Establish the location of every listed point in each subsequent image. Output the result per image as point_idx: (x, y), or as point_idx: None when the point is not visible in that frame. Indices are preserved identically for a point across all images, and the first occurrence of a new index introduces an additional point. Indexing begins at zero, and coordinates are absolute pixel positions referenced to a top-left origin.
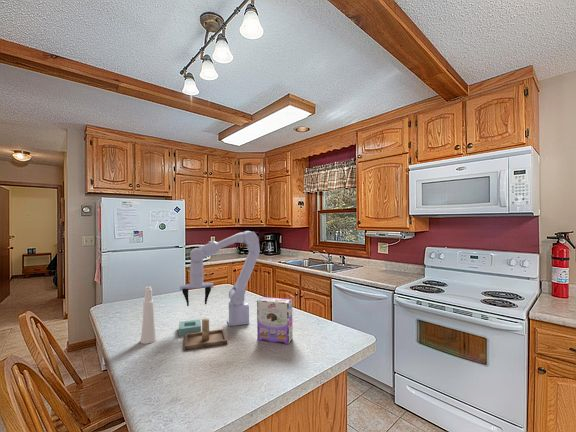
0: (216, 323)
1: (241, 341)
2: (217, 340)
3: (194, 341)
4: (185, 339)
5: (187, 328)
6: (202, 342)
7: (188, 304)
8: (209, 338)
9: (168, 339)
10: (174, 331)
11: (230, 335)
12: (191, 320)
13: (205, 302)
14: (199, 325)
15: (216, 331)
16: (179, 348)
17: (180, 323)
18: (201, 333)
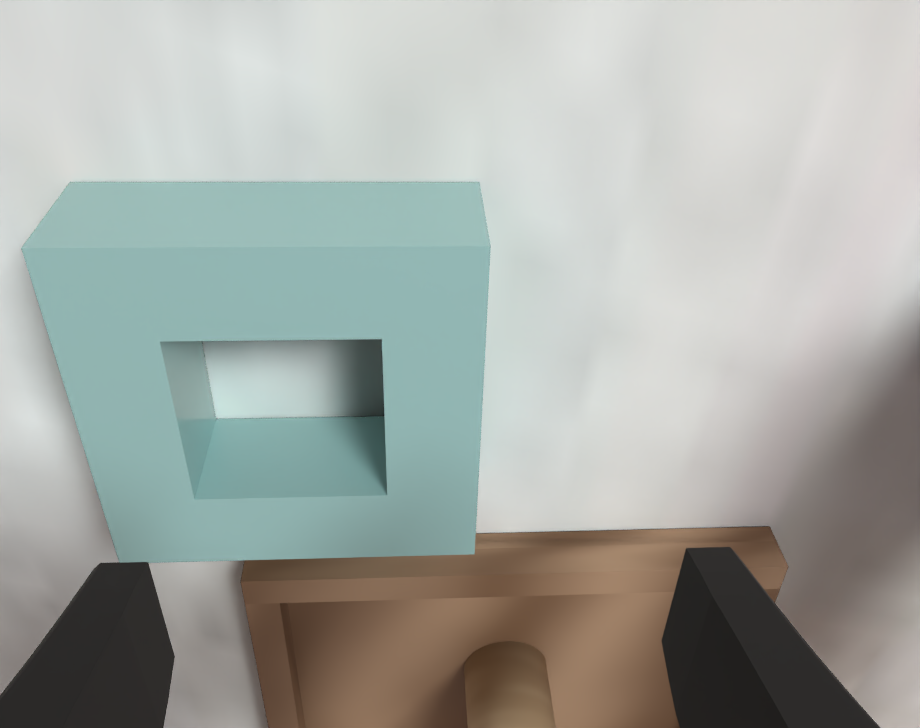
0: (804, 157)
1: None
2: (622, 706)
3: (377, 681)
4: (271, 697)
5: (260, 556)
6: (463, 710)
7: (157, 717)
8: (550, 658)
9: (23, 527)
10: (15, 292)
11: (806, 604)
12: (295, 256)
13: (690, 709)
14: (453, 519)
15: (671, 583)
16: (228, 717)
17: (78, 349)
18: (468, 587)
